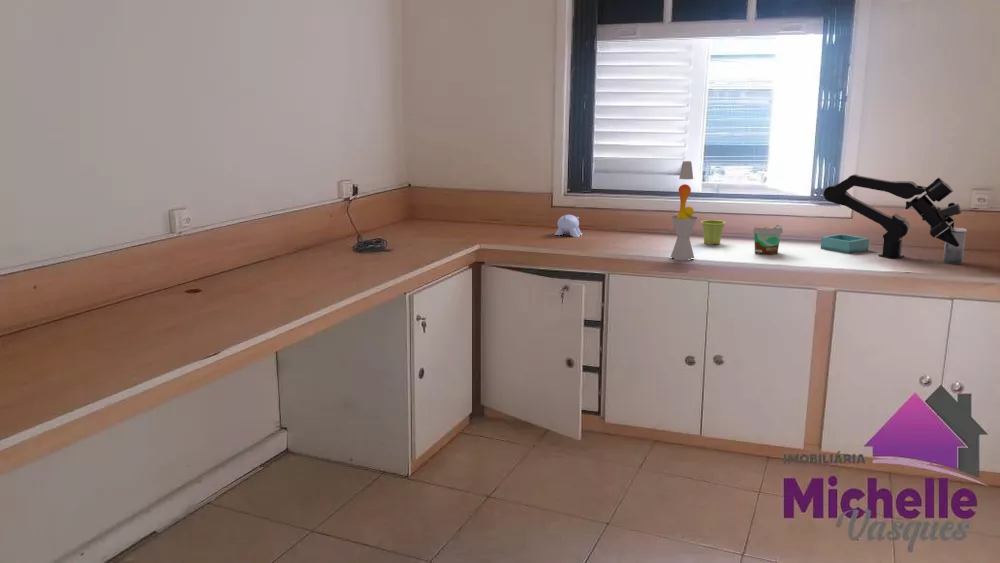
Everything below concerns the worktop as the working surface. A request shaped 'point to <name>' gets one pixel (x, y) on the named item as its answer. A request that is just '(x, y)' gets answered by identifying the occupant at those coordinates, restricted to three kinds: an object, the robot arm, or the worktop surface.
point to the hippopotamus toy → (568, 226)
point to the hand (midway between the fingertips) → (959, 244)
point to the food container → (767, 240)
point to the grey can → (952, 252)
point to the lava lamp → (684, 218)
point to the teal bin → (844, 243)
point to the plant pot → (712, 231)
